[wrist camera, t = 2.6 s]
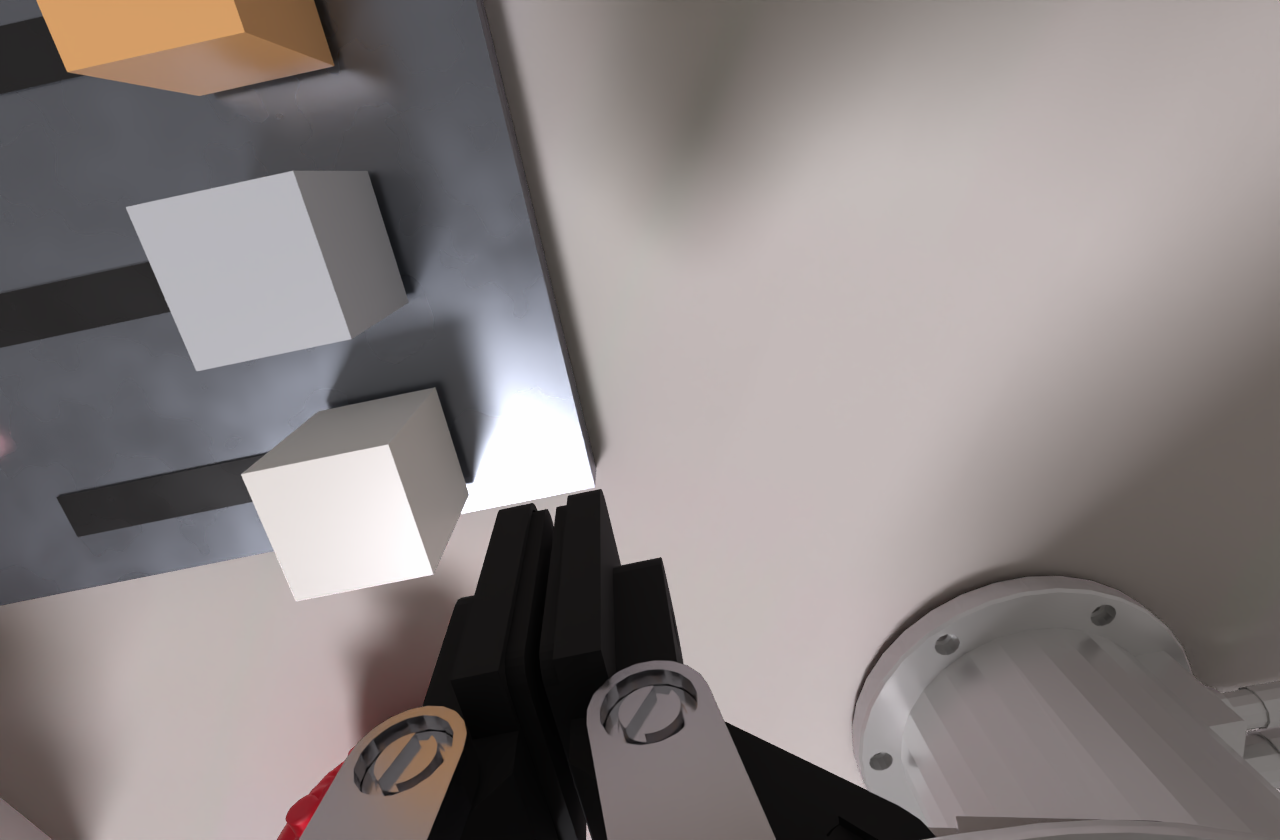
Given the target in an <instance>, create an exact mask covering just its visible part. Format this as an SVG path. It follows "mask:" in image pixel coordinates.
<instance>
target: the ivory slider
mask: <svg viewBox="0 0 1280 840" xmlns="http://www.w3.org/2000/svg"><path fill="white" fill-rule="evenodd" d="M241 476H242V478H243V480H244V483H245V485H246V487H247V490H248V492H249V494H250V497H251V499H252V501H253V504H254V506H255V508H256V511H257V513H258V515H259V518H260V520H261V522H262V524H263V527H264V529H265V531H266V534H267V536H268V538H269V541H270V543H271V545H272V548H273V550H274V552H275V555H276V557H277V559H278V562H279V564H280V566H281V569H282V571H283V573H284V575H285V578H286V580H287V582H288V585H289V587H290V589H291V592H292V594H293V596H294V599H295V601H301V600H306V599H312V598H317V597H322V596H327V595H332V594H337V593H342V592H347V591H352V590H357V589H363V588H368V587H373V586H378V585H383V584H388V583H393V582H398V581H403V580H408V579H414V578H419V577H424V576H429V575H434V572H435V570H436V568H437V566H438V564H439V561H440V559H441V557H442V555H443V552H444V550H445V548H446V546H447V543H448V541H449V539H450V537H451V534H452V532H453V530H454V528H455V525H456V523H457V521H458V519H459V517H460V514H461V512H462V510H463V508H464V505H465V503H466V501H467V499H468V496H469V493H468V489H467V486H466V483H465V480H464V477H463V473H462V470H461V467H460V464H459V461H458V458H457V454H456V451H455V448H454V445H453V442H452V438H451V435H450V432H449V429H448V426H447V422H446V419H445V416H444V413H443V410H442V407H441V403H440V400H439V397H438V394H437V391H436V387H434V388H429V389H425V390H420V391H415V392H410V393H405V394H400V395H395V396H390V397H386V398H381V399H376V400H371V401H366V402H361V403H356V404H351V405H347V406H342V407H337V408H332V409H327V410H322V411H318V412H317V413H316V414H314V415H313V416H312V417H311V418H310V419H308V420H307V421H306V422H305V423H303V424H302V425H301V426H300V427H298V428H297V429H296V430H295V431H294V432H292V433H291V434H290V435H289V436H287V437H286V438H285V439H284V440H282V441H281V442H280V443H279V444H278V445H276V446H275V447H274V448H273V449H271V450H270V451H269V452H268V453H266V454H265V455H264V456H263V457H262V458H260V459H259V460H258V461H257V462H255V463H254V464H253V465H252V466H250V467H249V468H248V469H247V470H246V471H244V472H243V473H242V474H241Z"/></svg>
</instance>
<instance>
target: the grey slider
mask: <svg viewBox="0 0 1280 840" xmlns="http://www.w3.org/2000/svg"><path fill="white" fill-rule="evenodd" d="M126 209H127V212H128V214H129V216H130V219H131V221H132V223H133V226H134V228H135V230H136V233H137V235H138V237H139V240H140V242H141V244H142V246H143V249H144V251H145V253H146V256H147V258H148V260H149V263H150V265H151V267H152V270H153V272H154V274H155V277H156V279H157V281H158V284H159V286H160V288H161V290H162V293H163V295H164V297H165V300H166V302H167V304H168V307H169V309H170V311H171V314H172V316H173V318H174V321H175V323H176V325H177V328H178V330H179V332H180V335H181V337H182V339H183V341H184V344H185V346H186V348H187V351H188V353H189V355H190V358H191V360H192V362H193V365H194V367H195V369H196V371H201V370H206V369H211V368H216V367H220V366H225V365H230V364H235V363H240V362H244V361H249V360H254V359H259V358H264V357H268V356H273V355H278V354H283V353H288V352H292V351H297V350H302V349H307V348H312V347H316V346H321V345H326V344H331V343H336V342H340V341H345V340H350V339H353V338H354V337H356V336H357V335H359V334H360V333H362V332H364V331H365V330H367V329H368V328H370V327H371V326H373V325H375V324H376V323H378V322H379V321H381V320H382V319H384V318H385V317H387V316H389V315H390V314H392V313H393V312H395V311H396V310H398V309H400V308H401V307H403V306H404V305H406V304H407V303H409V301H408V298H407V295H406V292H405V289H404V285H403V282H402V279H401V276H400V273H399V270H398V266H397V263H396V260H395V257H394V254H393V250H392V247H391V244H390V241H389V238H388V235H387V231H386V228H385V225H384V222H383V219H382V215H381V212H380V209H379V206H378V203H377V199H376V196H375V193H374V190H373V187H372V184H371V180H370V177H369V174H368V171H290V172H285V173H280V174H276V175H271V176H267V177H262V178H257V179H253V180H248V181H244V182H239V183H234V184H230V185H225V186H221V187H216V188H211V189H207V190H202V191H198V192H193V193H188V194H184V195H179V196H174V197H170V198H165V199H161V200H156V201H151V202H147V203H142V204H138V205H133V206H128V207H126Z"/></svg>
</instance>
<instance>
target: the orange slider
mask: <svg viewBox="0 0 1280 840" xmlns="http://www.w3.org/2000/svg"><path fill="white" fill-rule="evenodd" d="M36 1H37V3H38V6H39V8H40V10H41V12H42V15H43V17H44V19H45V22H46V24H47V26H48V29H49V31H50V33H51V36H52V38H53V40H54V43H55V45H56V47H57V50H58V52H59V54H60V56H61V59H62V61H63V63H64V66H65V68H66V70H67V72H70V73H75V74H81V75H86V76H92V77H97V78H103V79H108V80H114V81H119V82H125V83H130V84H136V85H141V86H147V87H152V88H158V89H163V90H169V91H174V92H180V93H185V94H191V95H196V96H202V95H207V94H211V93H216V92H220V91H225V90H229V89H234V88H238V87H243V86H247V85H252V84H256V83H261V82H265V81H270V80H274V79H279V78H283V77H288V76H292V75H297V74H301V73H306V72H310V71H315V70H319V69H324V68H328V67H333V66H334V63H333V59H332V56H331V53H330V50H329V47H328V43H327V40H326V37H325V34H324V31H323V27H322V24H321V21H320V18H319V15H318V12H317V8H316V5H315V2H314V0H36Z"/></svg>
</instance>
